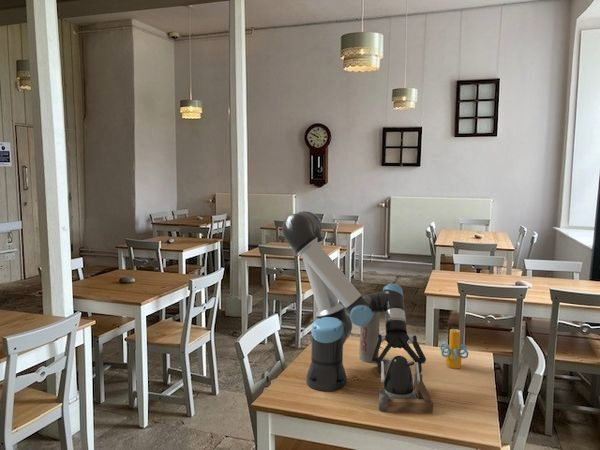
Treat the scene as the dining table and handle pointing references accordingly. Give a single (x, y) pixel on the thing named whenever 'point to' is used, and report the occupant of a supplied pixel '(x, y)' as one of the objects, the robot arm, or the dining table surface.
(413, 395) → the pad
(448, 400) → the dining table surface
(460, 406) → the dining table surface
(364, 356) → the thermos bottle
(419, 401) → the wooden corner bracket
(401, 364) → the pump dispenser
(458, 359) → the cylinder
